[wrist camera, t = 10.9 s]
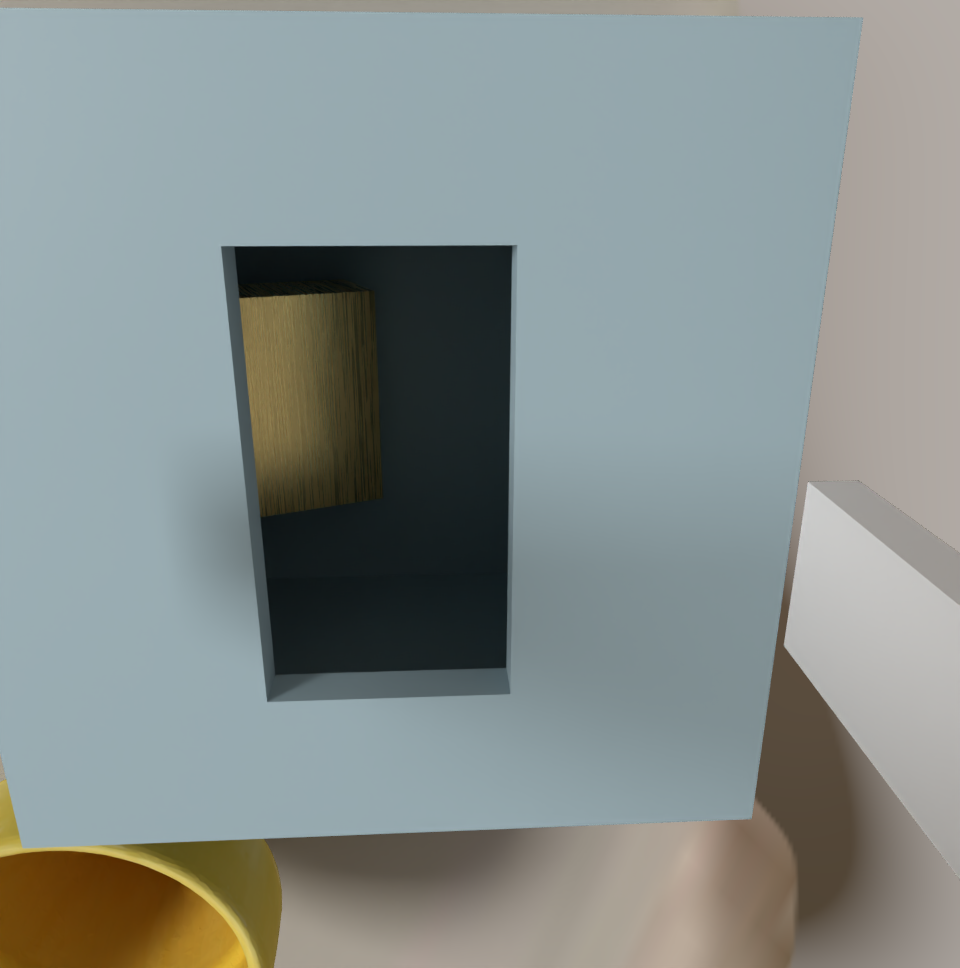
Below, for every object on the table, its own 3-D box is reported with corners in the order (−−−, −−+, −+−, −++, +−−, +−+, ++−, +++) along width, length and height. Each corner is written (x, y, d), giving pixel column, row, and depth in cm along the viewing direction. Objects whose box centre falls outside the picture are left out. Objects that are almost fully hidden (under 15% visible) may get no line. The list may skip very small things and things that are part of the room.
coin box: (109, 85, 24) (-176, 5, 13) (665, 89, 25) (863, 17, 13) (178, 590, 29) (22, 848, 18) (631, 579, 30) (751, 818, 19)
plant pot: (338, 841, 34) (304, 1091, 24) (82, 883, 34) (-48, 1150, 24) (277, 615, 30) (210, 809, 21) (-10, 662, 30) (-203, 877, 21)
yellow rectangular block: (343, 279, 25) (129, 289, 23) (374, 291, 23) (137, 303, 20) (354, 467, 27) (158, 495, 25) (382, 498, 25) (168, 531, 22)
